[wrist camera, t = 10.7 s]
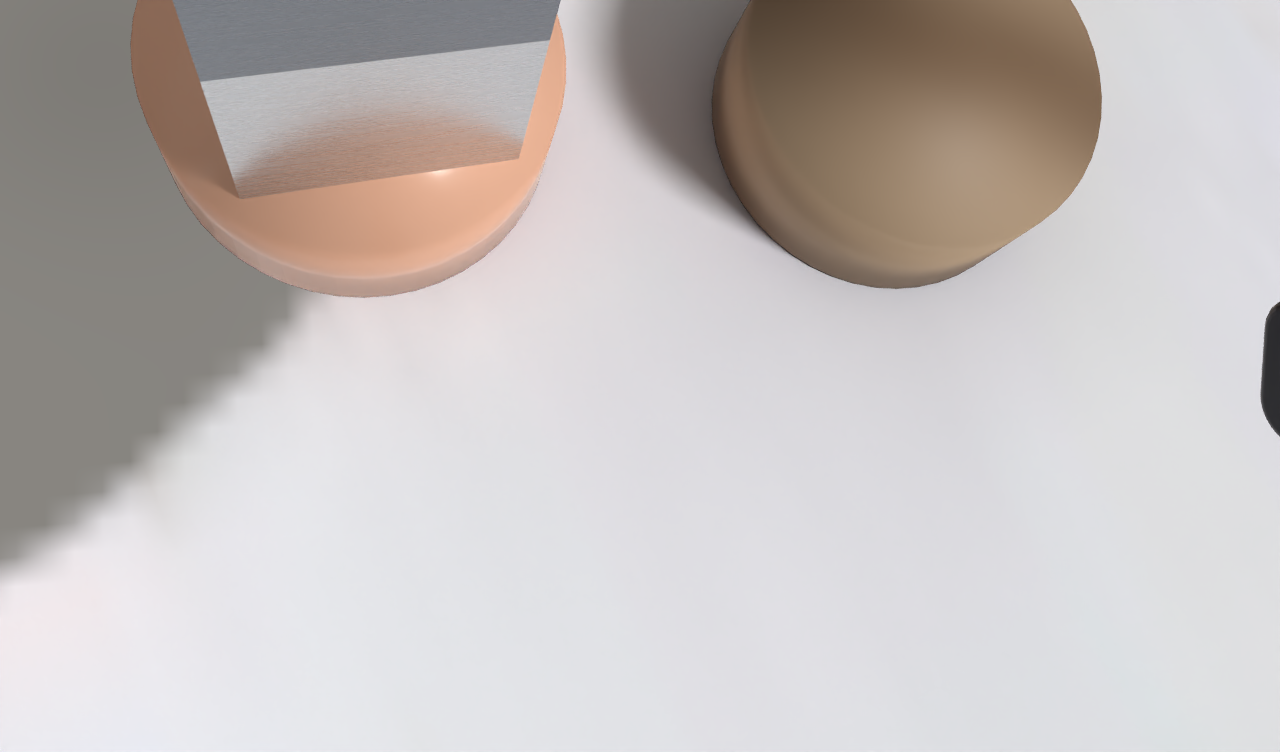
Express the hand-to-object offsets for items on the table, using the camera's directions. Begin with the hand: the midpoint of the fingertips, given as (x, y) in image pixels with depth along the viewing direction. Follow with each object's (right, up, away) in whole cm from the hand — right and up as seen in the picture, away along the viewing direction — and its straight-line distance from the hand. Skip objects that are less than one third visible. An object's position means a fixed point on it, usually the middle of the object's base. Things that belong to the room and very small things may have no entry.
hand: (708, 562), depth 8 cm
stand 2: (+4, +6, +16) cm, 18 cm away
